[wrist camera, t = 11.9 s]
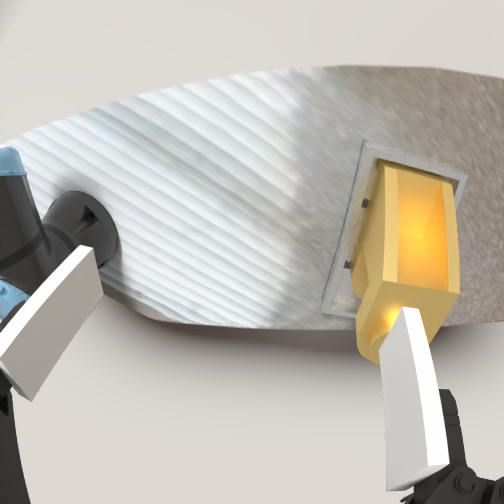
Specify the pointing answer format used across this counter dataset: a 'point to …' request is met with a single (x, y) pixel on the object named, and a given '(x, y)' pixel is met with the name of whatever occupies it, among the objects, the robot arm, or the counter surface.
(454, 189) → the tray
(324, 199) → the counter surface
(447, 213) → the yellow mounting bracket
